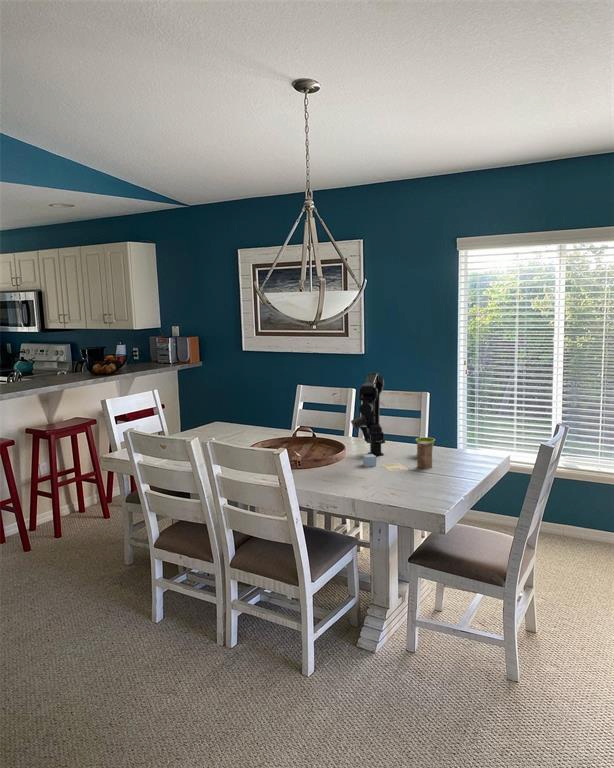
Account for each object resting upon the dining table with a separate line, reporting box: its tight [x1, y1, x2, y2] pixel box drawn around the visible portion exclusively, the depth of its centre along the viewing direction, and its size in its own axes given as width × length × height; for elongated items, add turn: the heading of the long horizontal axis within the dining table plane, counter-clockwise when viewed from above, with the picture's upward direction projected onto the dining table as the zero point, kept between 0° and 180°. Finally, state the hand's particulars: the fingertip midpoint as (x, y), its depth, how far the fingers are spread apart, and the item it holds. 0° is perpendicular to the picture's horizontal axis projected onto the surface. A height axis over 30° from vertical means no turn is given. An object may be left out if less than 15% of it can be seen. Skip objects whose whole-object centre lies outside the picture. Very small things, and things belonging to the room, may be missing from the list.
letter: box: [381, 462, 409, 472], centre depth 278 cm, size 12×9×1 cm
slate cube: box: [362, 454, 377, 468], centre depth 283 cm, size 5×5×5 cm
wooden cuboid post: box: [416, 441, 433, 470], centre depth 276 cm, size 5×5×12 cm
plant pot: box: [415, 436, 436, 451], centre depth 296 cm, size 9×9×9 cm
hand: (369, 443), depth 281 cm, fingers open, 9 cm apart
